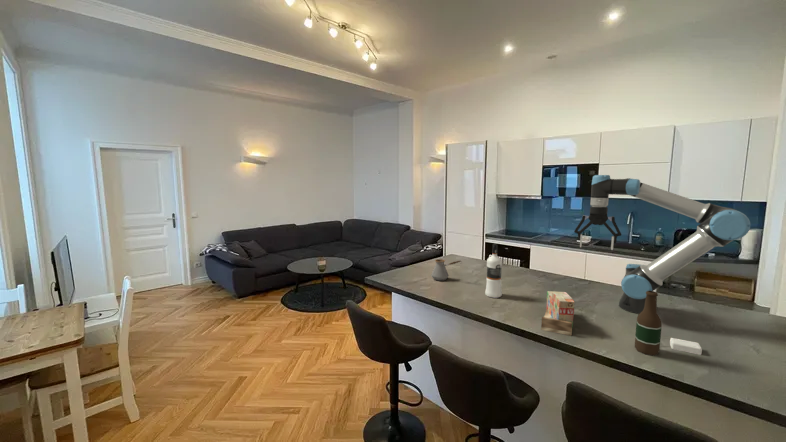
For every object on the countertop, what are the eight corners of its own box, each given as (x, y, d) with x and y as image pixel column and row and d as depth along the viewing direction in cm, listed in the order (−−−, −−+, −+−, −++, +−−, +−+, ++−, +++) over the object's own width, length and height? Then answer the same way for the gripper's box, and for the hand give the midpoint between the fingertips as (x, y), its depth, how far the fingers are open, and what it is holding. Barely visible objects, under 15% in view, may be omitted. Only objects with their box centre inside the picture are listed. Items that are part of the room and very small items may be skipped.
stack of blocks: (545, 308, 170) (547, 285, 168) (559, 309, 169) (560, 285, 167) (557, 327, 149) (559, 300, 147) (573, 328, 148) (574, 301, 146)
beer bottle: (648, 345, 136) (653, 288, 133) (664, 355, 128) (670, 295, 125) (629, 346, 135) (634, 288, 132) (644, 356, 128) (650, 295, 125)
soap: (671, 349, 133) (672, 342, 133) (669, 343, 138) (670, 336, 137) (701, 356, 128) (702, 348, 128) (698, 349, 133) (699, 342, 132)
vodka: (497, 292, 199) (499, 242, 195) (504, 297, 190) (506, 245, 186) (482, 293, 198) (483, 243, 194) (489, 298, 189) (490, 246, 185)
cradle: (573, 314, 167) (574, 303, 166) (571, 335, 145) (572, 323, 144) (546, 309, 173) (547, 299, 172) (541, 329, 150) (541, 318, 150)
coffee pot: (428, 279, 225) (428, 257, 223) (436, 275, 234) (436, 254, 232) (456, 285, 212) (457, 262, 210) (465, 281, 221) (465, 258, 219)
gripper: (570, 206, 170) (567, 247, 173) (630, 207, 158) (626, 252, 161) (570, 204, 177) (568, 244, 179) (628, 206, 164) (625, 249, 167)
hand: (595, 248), depth 170 cm, fingers open, 13 cm apart
